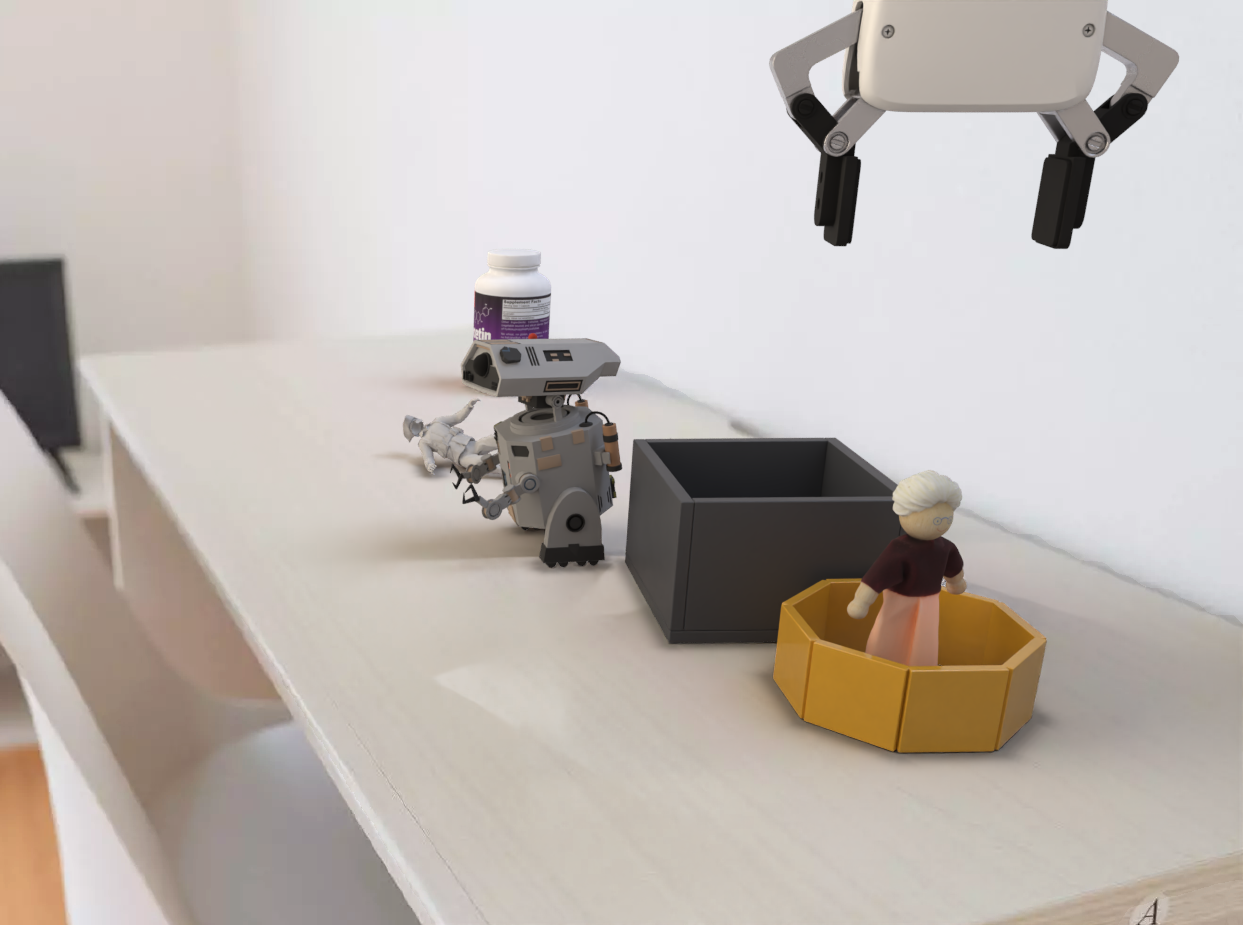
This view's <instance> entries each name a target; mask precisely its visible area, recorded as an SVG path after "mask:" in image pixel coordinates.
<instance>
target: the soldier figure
mask: <svg viewBox="0 0 1243 925" xmlns="http://www.w3.org/2000/svg"><path fill="white" fill-rule="evenodd" d="M481 401H482V400H481V399H480V398H477V397H475V398H472V399H470V401H468V403H466V405H464V407H463V408H462V409H460V410H458V411H457V412H456V413H453V414H451V415H444V416H439V417H435V418H434V419H433V420H432V421H431V422H428V423H426V424H425V422H424V421H423V419H422V418H418V417H417V416H413V415H409V414H406V415H405V416H404V419H403V421H402V433H403V434H402V435H403V436H404V438H405V439H406V440H407V441H408V444H409V443H411V441H412V439H413V438H414V437H415V438H419V437H420V439H419V441H418V442H417V447H418V448H419V451H420V453H421V456H422V459H423V464H424V466H425V469H426V471H428V472H429V473H430V474H431V475H433V476H435V474H436V473H434V471H435V470H436V467H438V466H437V464H436V461H435V455H434V453H437V455H438V456H440V457H442V458H443V459H444V460H445V459H448V460H450V461H451V462H452V463H455V464H456V465H457V466H459V467H462V468H465V469H466V468H467V466H468V465H470V464H472V465H476V464H477V463H478V462H482V461H481V459H480V458H481V457H482V456H483V455H485V454H490V453H491V452H493V451H498V448H497V444H496V440H495V439H494V436H495V435H494V433H493V434H490V435H487V436H484V437H481V438H479V439H478V440H476V439H475V438H474V437H473V436H470V435H468V434H465V433H464V432H465V431H464V429H462V428H460V427H457V426H456V425H458V424H461V423H463V422H464V421H465V420H466V419H467V418H468V417H469V415H470V414H471V413H472V411H473V410H474V408H475V405H476V404H477V402H481ZM495 437H496V436H495ZM496 467H497V469H496V470H494V471H493V472H490V473H487V474H486V475H488V474H497V475H502V474H501V467H500V464H498V465H496Z"/></svg>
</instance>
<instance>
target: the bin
mask: <svg viewBox="0 0 1243 925" xmlns="http://www.w3.org/2000/svg"><path fill="white" fill-rule="evenodd" d="M898 485H899V484H897V483H896V482H895V481H894V480H892V479H891V478H890V477H888V476H887V475H886V474H884V473H883V472H882V471H880V470H879V469H877V468H876V467H875V466H874V465H872V464H871V463H870V462H868V461H867V460H866V459H865V458H864V457H862V456H861V455H859V454H858V453H857V452H855V451H854V450H853V449H851V448H850V447H849V446H847V445H846V444H845V443H843V442H842V441H841V440H840V439H838V438H837V437H752V438H751V437H750V438H749V437H741V438H740V437H736V438H735V437H732V438H731V437H730V438H728V437H726V438H725V437H724V438H719V437H718V438H713V437H712V438H711V437H709V438H634V439H633V440H632V453H631V468H630V482H629V496H628V510H627V511H628V512H627V523H626V524H627V525H626V526H627V527H626V540H625V541H626V542H625V553H624V554H625V555H624V563H625V565H626V567H627V569H628V571H629V572H630V575H631V576H632V578H633V580H634V582H635V584H636V585H637V588H638V589H639V591H640V593H641V595H642V597H643V598H644V600H645V602H646V604H647V605H648V607H649V609H650V611H651V613H652V615H653V616H654V619H655V620H656V622H657V624H658V626H659V628H660V630H661V632H662V633H663V635H664V638H666V640H667V643H668V644H673V645H674V644H675V645H676V644H748V643H749V644H750V643H751V644H755V643H756V644H758V643H761V644H762V643H764V644H765V643H769V644H770V643H777V639H778V631H779V622H780V614H781V605H782V603H783V602H784V601H786V600H788V599H790V598H791V597H793V596H795V595H797V594H798V593H800V592H802V591H804V590H805V589H807V588H809V587H811V586H812V585H814V584H816V583H817V582H819V581H821V580H826V579H862V578H863V576H864V575H865V574H866V573H867V571H868V570H869V569H870V567H871V566H872V565H873V563H874V562H875V561H876V560H877V558H878V557H879V556H880V554H881V553H882V552H883V551H884V549H885V548H886V547H887V546H888V545H889V543H890V542H891V540H893V539H895V538H897V537H899V536H901V535H904V534H907V533H906V531H905V530H904V529H903V527H902V526H901V524H900V520H899V515H898V514H896V513H895V512H894V510H893V504H894V501H893V500H892V498H893V492H894V491H895V489H896V487H897V486H898Z"/></svg>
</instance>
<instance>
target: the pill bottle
mask: <svg viewBox="0 0 1243 925" xmlns="http://www.w3.org/2000/svg"><path fill="white" fill-rule="evenodd" d="M486 260H487V261H486V263H487V264H486V265H487V266H488V268H489V269H488V271H486V272H484V273H482V274H480V275H479V277H478V278H477V279H476V280H475V283H474V294H473V296H474V298H473V301H474V302H473V304H474V305H473V334H472V336H473V338H472V342H473V341H474V340H499V339H528V336H529V335H530V334H531V333H535V334H536V335H537V339H550V319H551V300H552V284H551V281H550V280H549V279H548V277H547V276H546V275H544V274H542V273H541V272H539V268H540V267H541V263H542V252H541V251H539V250H535V249H528V248H496V249H491V250H488V251H487V259H486Z"/></svg>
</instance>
